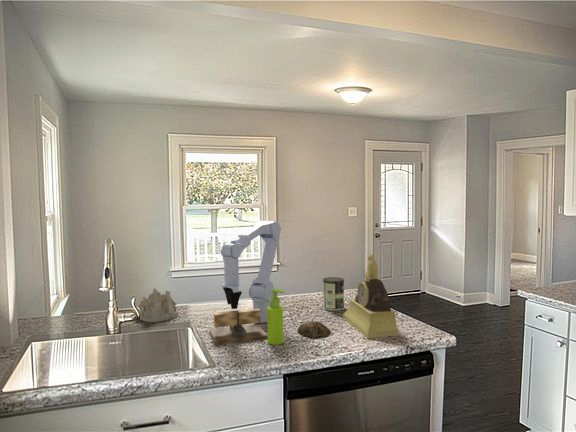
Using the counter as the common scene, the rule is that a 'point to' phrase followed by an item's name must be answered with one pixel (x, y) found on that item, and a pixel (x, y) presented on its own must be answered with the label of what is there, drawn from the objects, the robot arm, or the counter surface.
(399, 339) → the counter surface
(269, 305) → the robot arm
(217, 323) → the oak beam
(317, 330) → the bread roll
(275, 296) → the soap dispenser
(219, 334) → the board
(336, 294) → the coffee can
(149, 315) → the sand castle
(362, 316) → the decorative clock
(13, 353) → the counter surface
